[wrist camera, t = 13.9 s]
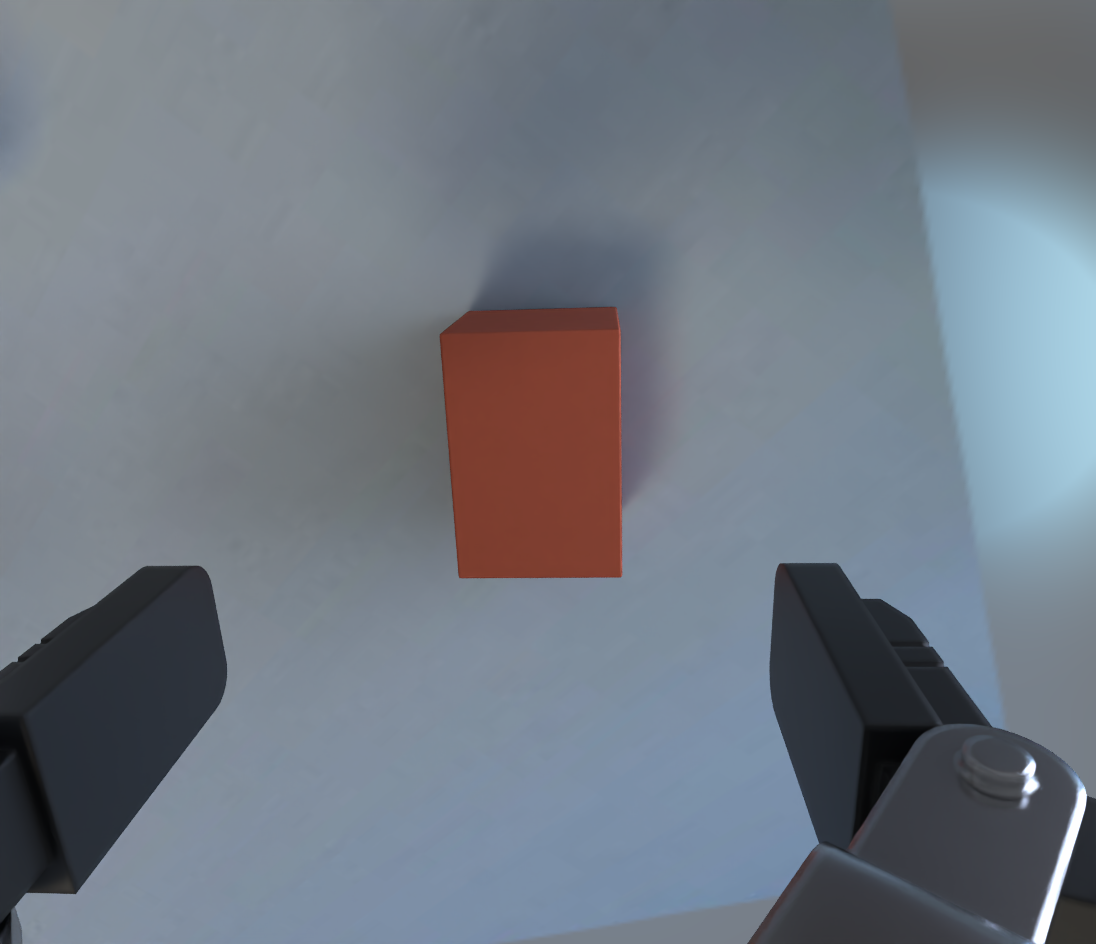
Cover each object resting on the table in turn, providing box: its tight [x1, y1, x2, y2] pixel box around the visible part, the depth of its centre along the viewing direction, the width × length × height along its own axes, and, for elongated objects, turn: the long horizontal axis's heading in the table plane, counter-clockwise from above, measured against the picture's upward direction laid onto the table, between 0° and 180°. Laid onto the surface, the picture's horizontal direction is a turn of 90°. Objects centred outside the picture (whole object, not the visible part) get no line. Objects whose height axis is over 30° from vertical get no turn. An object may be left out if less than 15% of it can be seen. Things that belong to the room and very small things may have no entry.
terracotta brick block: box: [440, 307, 622, 578], centre depth 20 cm, size 6×4×4 cm, turn 2°
